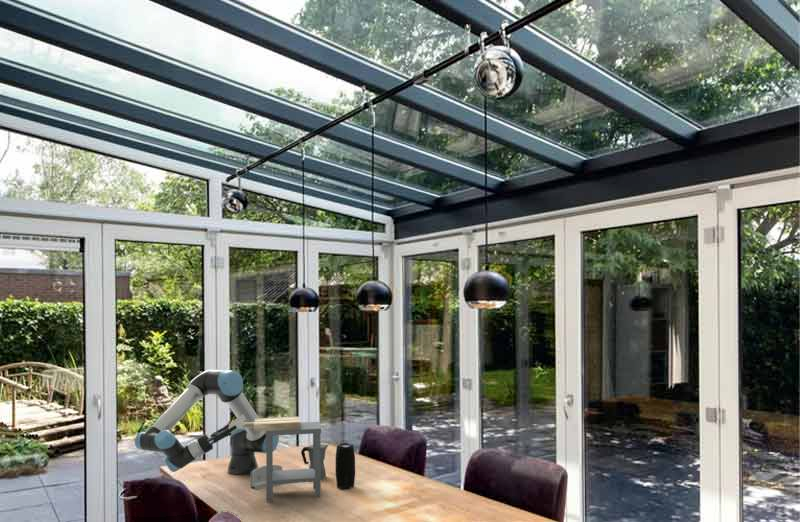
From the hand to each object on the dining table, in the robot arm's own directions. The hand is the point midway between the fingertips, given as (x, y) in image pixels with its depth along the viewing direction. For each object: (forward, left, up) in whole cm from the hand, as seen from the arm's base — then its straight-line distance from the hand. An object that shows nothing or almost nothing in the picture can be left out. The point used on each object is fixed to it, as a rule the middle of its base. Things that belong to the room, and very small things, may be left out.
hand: (244, 419), depth 276 cm
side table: (0, +22, -34) cm, 40 cm away
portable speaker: (-5, +46, -34) cm, 57 cm away
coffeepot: (-26, +33, -34) cm, 54 cm away
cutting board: (0, +9, -4) cm, 10 cm away
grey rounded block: (-20, +10, -35) cm, 41 cm away
